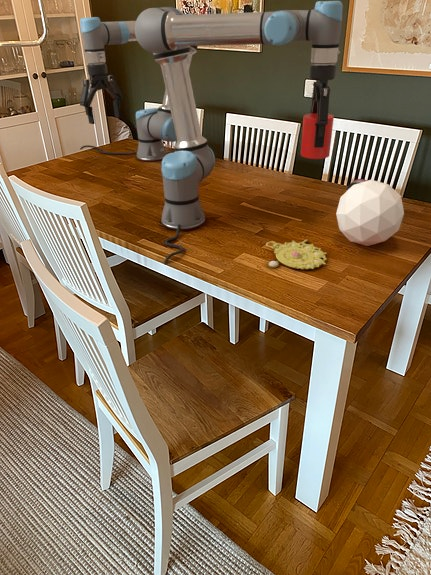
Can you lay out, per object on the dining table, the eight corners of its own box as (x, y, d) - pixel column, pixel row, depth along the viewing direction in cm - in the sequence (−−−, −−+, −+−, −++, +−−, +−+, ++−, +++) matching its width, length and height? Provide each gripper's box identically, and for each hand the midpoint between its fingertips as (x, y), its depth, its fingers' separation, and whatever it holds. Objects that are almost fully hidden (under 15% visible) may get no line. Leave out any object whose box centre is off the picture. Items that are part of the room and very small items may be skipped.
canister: (312, 149, 148) (315, 111, 141) (335, 154, 142) (339, 115, 136) (294, 155, 143) (297, 116, 136) (317, 160, 137) (321, 120, 131)
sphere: (372, 267, 139) (394, 238, 121) (318, 234, 144) (331, 202, 125) (402, 223, 144) (427, 189, 125) (348, 192, 149) (365, 155, 130)
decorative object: (309, 275, 120) (249, 251, 130) (307, 282, 121) (248, 258, 131) (343, 246, 133) (286, 226, 143) (341, 253, 134) (285, 233, 145)
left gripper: (75, 67, 162) (86, 127, 174) (127, 60, 178) (133, 116, 190) (63, 66, 166) (74, 125, 178) (115, 59, 182) (122, 114, 194)
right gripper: (345, 68, 119) (334, 152, 131) (329, 59, 137) (321, 134, 149) (317, 69, 119) (309, 152, 131) (305, 60, 138) (299, 134, 150)
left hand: (105, 120), depth 184 cm, fingers open, 13 cm apart
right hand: (315, 142), depth 140 cm, fingers closed on canister, 9 cm apart
